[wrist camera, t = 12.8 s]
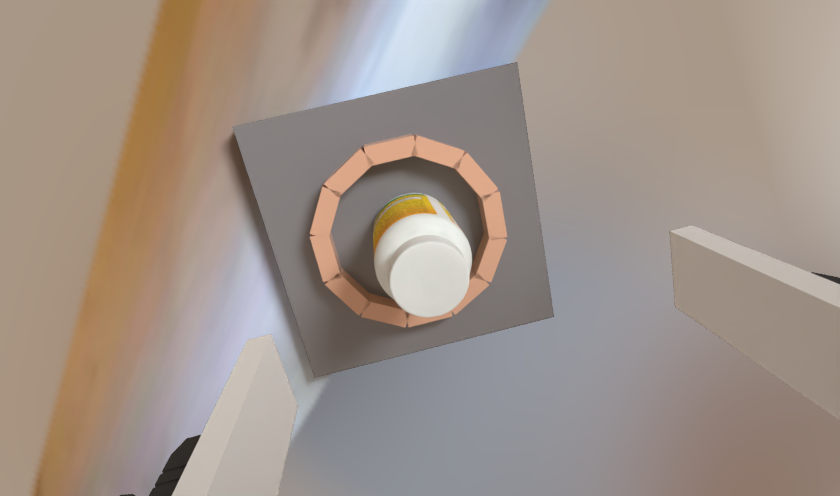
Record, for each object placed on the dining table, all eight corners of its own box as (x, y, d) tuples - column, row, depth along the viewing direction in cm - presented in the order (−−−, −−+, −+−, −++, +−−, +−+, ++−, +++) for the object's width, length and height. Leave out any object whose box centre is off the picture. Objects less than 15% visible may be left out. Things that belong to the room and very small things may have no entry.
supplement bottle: (465, 212, 33) (504, 256, 24) (428, 280, 34) (453, 346, 25) (393, 176, 32) (407, 209, 23) (358, 248, 33) (357, 306, 24)
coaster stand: (510, 63, 32) (524, 60, 29) (546, 308, 38) (561, 325, 35) (238, 125, 31) (226, 128, 28) (316, 366, 37) (312, 389, 34)
